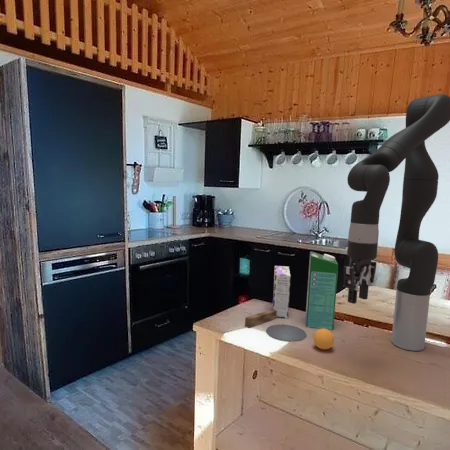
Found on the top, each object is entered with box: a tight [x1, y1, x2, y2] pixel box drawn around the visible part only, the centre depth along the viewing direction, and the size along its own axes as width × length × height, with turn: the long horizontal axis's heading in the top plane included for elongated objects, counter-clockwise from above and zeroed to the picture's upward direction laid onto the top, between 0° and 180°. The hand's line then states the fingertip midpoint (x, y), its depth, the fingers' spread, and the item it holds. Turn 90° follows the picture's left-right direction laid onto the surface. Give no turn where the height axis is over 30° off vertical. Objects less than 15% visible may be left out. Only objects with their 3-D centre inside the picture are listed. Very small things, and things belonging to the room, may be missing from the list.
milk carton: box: [305, 251, 339, 331], centre depth 125 cm, size 9×9×25 cm
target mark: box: [265, 323, 307, 342], centre depth 118 cm, size 13×13×1 cm
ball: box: [313, 328, 335, 350], centre depth 107 cm, size 6×6×6 cm
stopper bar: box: [244, 308, 277, 329], centre depth 126 cm, size 14×2×3 cm, turn 132°
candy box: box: [272, 265, 292, 319], centre depth 136 cm, size 14×6×16 cm, turn 172°
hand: (357, 300), depth 98 cm, fingers open, 5 cm apart
